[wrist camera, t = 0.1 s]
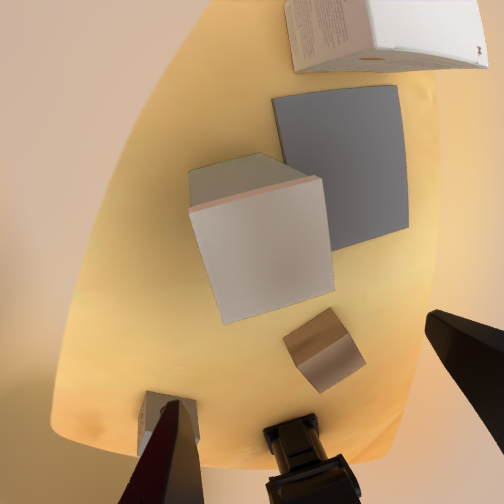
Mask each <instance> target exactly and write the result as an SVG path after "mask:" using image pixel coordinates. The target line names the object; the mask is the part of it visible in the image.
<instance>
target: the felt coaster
mask: <svg viewBox="0 0 504 504" xmlns="http://www.w3.org/2000/svg"><path fill="white" fill-rule="evenodd" d="M272 104H273V108H274V113H275V118H276V123H277V127H278V132H279V137H280V142H281V147H282V152H283V158H284V163H285V165H287V166H289V167H291V168H293V169H296V170H298V171H300V172H302V173H303V174H305V175H307V176H312V175H315V176H317V177H319V178H321V179H322V183H323V190H324V197H325V205H326V212H327V220H328V228H329V237H330V245H331V251H334V250H338V249H341V248H344V247H347V246H351V245H354V244H357V243H360V242H363V241H367V240H370V239H373V238H376V237H379V236H383V235H386V234H389V233H392V232H395V231H398V230H402V229H405V228H408V227H409V209H408V183H407V167H406V154H405V143H404V134H403V125H402V117H401V109H400V102H399V96H398V89H397V85H392V86H374V87H361V88H349V89H339V90H330V91H322V92H314V93H307V94H300V95H293V96H287V97H281V98H275V99H272Z"/></svg>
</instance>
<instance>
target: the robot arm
mask: <svg viewBox="0 0 504 504" xmlns="http://www.w3.org/2000/svg"><path fill="white" fill-rule="evenodd" d="M425 334H426V336H427V338H428V340H429V341H430V343H431V345H432V347H433V348H434V350H435V352H436V353H437V355H438V357H439V358H440V360H441V362H442V363H443V365H444V367H445V368H446V370H447V371H448V372H449V374H450V375H451V376H452V378H453V379H454V380H455V382H456V383H457V385H458V386H459V388H460V389H461V390H462V392H463V393H464V395H465V396H466V398H467V399H468V401H469V402H470V403H471V405H472V406H473V408H474V409H475V411H476V412H477V414H478V415H479V417H480V418H481V420H482V421H483V423H484V424H485V426H486V427H487V429H488V430H489V432H490V433H491V435H492V436H493V438H494V440H495V441H496V442H497V445H498V446H499V448H500V450H501V451H502V453H503V454H504V331H503V330H499V329H497V328H494V327H490V326H487V325H484V324H481V323H478V322H475V321H472V320H469V319H466V318H463V317H460V316H456V315H453V314H450V313H447V312H444V311H441V310H438V309H436V310H433V311H431V312H429V313H428V314H427V317H426V324H425ZM263 433H264V436H265V439H266V441H267V444H268V446H269V449H270V451H271V454H272V455H275V458H276V461H277V464H278V467H279V471H280V473H281V475H279V476H275V477H269V480H270V481H269V482H268V483H267V484H266V488H267V491H268V495H269V500H270V504H361V502H360V500H359V498H360V497H361V490H360V487H359V484H358V481H357V479H356V477H355V476H354V474H353V472H352V470H351V469H350V467H349V465H348V464H347V462H346V460H345V459H344V457H343V455H342V454H339V455H337V456H335V457H333V458H330V459H328V458H327V455H326V453H325V451H324V448H323V446H322V444H321V442H320V439H319V432H318V423H317V417H316V415H315V414H312V415H309V416H306V417H303V418H300V419H297V420H294V421H291V422H288V423H285V424H281V425H278V426H275V427H271V428H268V429H265V430H264V431H263ZM129 482H130V483H128V484H127V487H126V489H125V491H124V493H123V495H122V497H121V499H120V500H119V503H118V504H204V498H203V490H202V481H201V471H200V461H199V455H198V450H197V445H196V441H195V436H194V432H193V427H192V422H191V418H190V415H189V412H188V411H187V409H186V407H185V406H184V404H183V403H182V401H181V400H180V399H174V400H170V401H168V402H167V403H166V405H165V408H164V410H163V412H162V414H161V416H160V418H159V420H158V422H157V424H156V426H155V428H154V430H153V432H152V434H151V437H150V439H149V441H148V443H147V445H146V447H145V449H144V451H143V453H142V455H141V457H140V459H139V462H138V464H137V466H136V468H135V470H134V472H133V474H132V476H131V478H130V481H129Z"/></svg>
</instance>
